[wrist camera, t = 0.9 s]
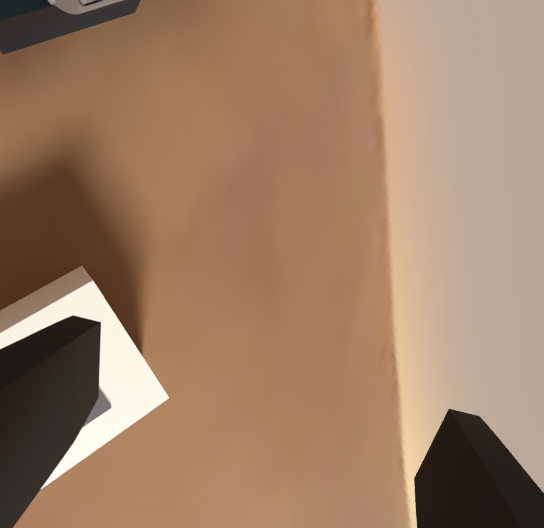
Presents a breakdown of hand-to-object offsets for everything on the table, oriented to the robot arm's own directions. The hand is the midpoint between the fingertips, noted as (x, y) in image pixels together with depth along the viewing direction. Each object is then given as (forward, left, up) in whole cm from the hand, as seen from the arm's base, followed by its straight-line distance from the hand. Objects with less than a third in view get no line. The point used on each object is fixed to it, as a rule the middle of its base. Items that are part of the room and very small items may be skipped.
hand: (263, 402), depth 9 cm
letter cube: (-4, 0, -12) cm, 13 cm away
